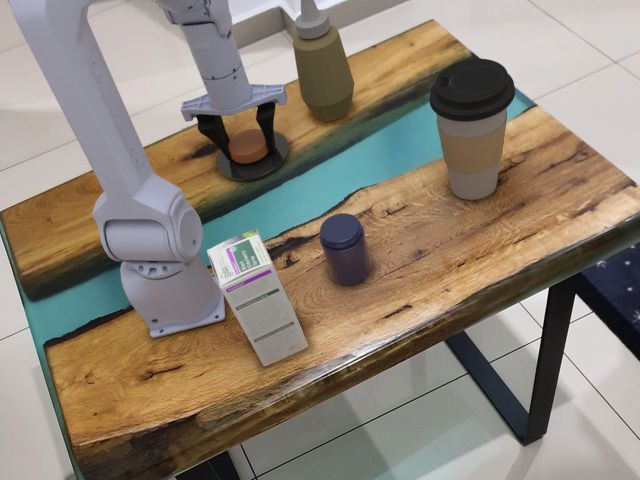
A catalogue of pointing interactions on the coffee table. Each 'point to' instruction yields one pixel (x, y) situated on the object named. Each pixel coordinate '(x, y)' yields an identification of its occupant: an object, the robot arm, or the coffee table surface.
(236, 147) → the jar lid
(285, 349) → the syrup box
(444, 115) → the coffee cup
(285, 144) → the coaster
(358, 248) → the jar
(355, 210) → the coffee table surface
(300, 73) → the squeeze bottle
